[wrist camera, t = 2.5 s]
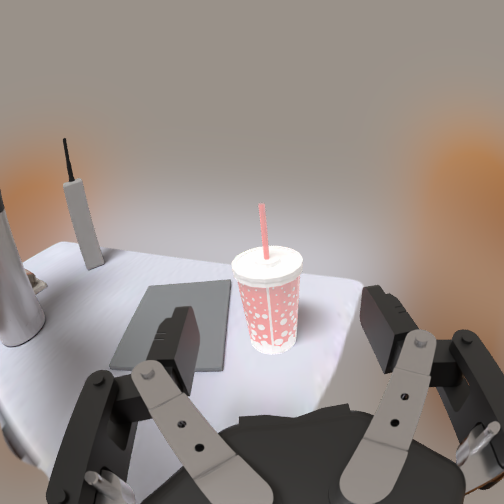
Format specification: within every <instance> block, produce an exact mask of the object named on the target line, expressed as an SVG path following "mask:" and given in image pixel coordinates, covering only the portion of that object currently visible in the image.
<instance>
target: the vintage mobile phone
mask: <svg viewBox="0 0 504 504" xmlns="http://www.w3.org/2000/svg"><path fill="white" fill-rule="evenodd" d="M63 144H64V150H65V156H66V162H67V170H68V175H69V182H67V183H64V185H63V188H64V192H65V197H66V200H67V205H68V209H69V212H70V216H71V220H72V223H73V227H74V230H75V234H76V237H77V240H78V243H79V247H80V250H81V253H82V256H83V259H84V262H85V264H86V267H87V269H88V270H90V269H93V268H95V267H98V266H101V265H103V264H104V260H103V257H102V253H101V250H100V247H99V244H98V240H97V237H96V234H95V230H94V226H93V223H92V219H91V215H90V212H89V208H88V204H87V200H86V195H85V191H84V186H83V182H82V179H80V178H78V179H74V177H73V173H72V168H71V163H70V161H69V155H68V149H67V143H66V138H64V139H63Z"/></svg>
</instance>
